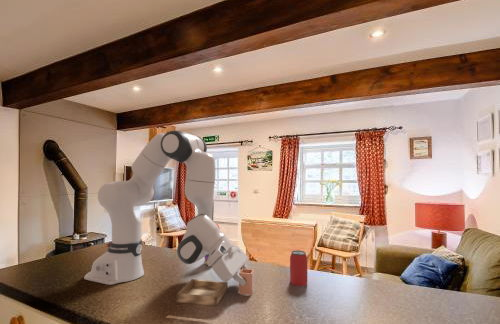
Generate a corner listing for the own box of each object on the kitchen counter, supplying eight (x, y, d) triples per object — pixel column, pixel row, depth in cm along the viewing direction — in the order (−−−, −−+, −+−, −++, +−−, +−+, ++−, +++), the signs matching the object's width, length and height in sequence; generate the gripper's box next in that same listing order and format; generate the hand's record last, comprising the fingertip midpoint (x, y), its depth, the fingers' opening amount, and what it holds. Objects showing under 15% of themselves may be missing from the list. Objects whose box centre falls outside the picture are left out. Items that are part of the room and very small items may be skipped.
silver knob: (235, 296, 90) (236, 278, 91) (240, 288, 97) (240, 271, 97) (254, 298, 89) (254, 280, 89) (257, 290, 95) (257, 273, 96)
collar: (239, 293, 91) (239, 273, 91) (241, 287, 96) (242, 268, 96) (252, 294, 90) (252, 274, 90) (254, 289, 95) (254, 269, 95)
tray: (176, 303, 85) (176, 294, 85) (192, 287, 97) (192, 279, 97) (216, 308, 82) (216, 298, 82) (227, 290, 94) (227, 282, 95)
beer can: (286, 283, 101) (286, 252, 102) (296, 279, 106) (296, 248, 106) (301, 289, 96) (301, 255, 97) (310, 283, 101) (310, 252, 102)
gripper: (226, 248, 107) (249, 275, 103) (204, 264, 87) (231, 298, 84) (236, 238, 106) (260, 265, 102) (216, 252, 86) (245, 286, 83)
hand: (247, 280), depth 93 cm, fingers closed on collar, 5 cm apart
